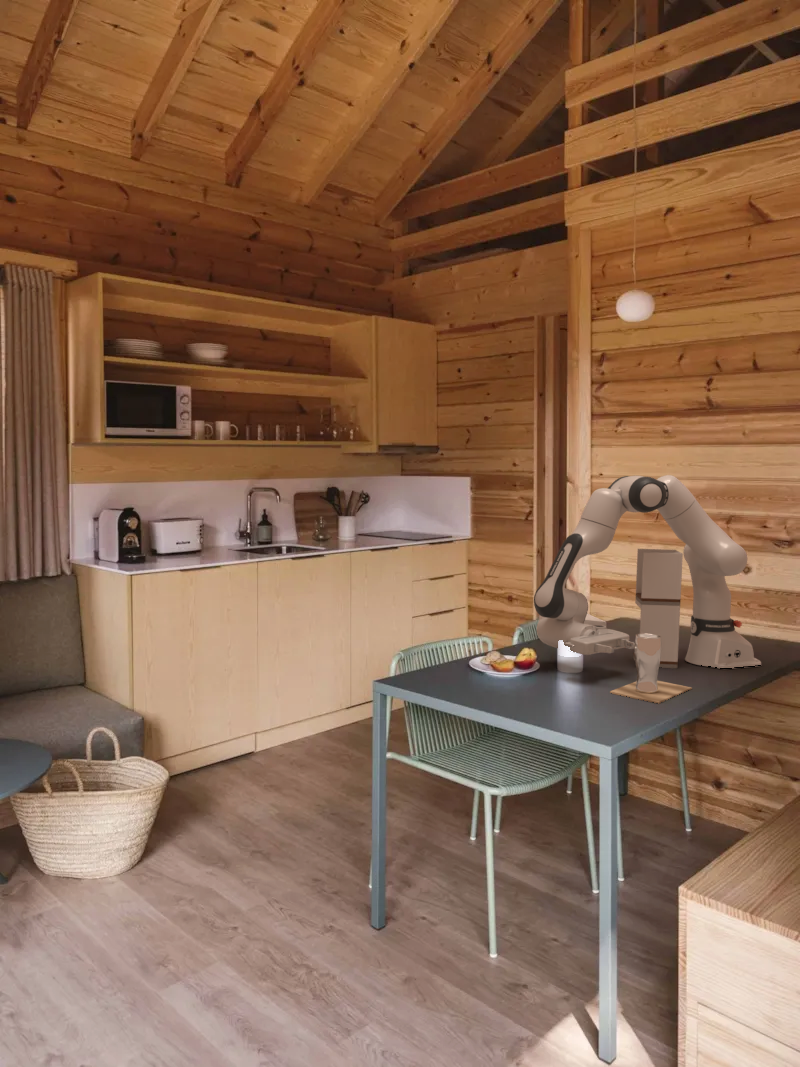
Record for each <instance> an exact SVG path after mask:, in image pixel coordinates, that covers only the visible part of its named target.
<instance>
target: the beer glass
mask: <svg viewBox="0 0 800 1067" xmlns="http://www.w3.org/2000/svg"><path fill="white" fill-rule="evenodd" d="M634 643H635V648H634V652H635V661H634V662H635V668H636V669H635V670H636V681H637V682H636V681H635V682H636V686H635V690H636V691H639V692H644V693H655V692H658V685H657V681H658V674H659V664H660V659H661V636H660V635H656V634H647V633H642V634H640V633H636V634H635V640H634Z"/></svg>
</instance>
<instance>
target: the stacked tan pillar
mask: <svg viewBox="0 0 800 1067" xmlns="http://www.w3.org/2000/svg"><path fill="white" fill-rule="evenodd" d="M636 557H637V558H636V560H637V561H636V579H635V580H636V584H635V602H634V603H635V604H636V605H637V607H638V608H640V614H639V615H640V620H639V623H640V624H639V634H642V633H647V634H656V635H660V636H661V659H660V664H659V667H662V668H661V669H678V662H679V661H678V659H679V643H680V641H679V639H680V619H681V618H680V617H681V600H682V599H681V598H682V576H683V575H682V574H683V558H684V554H683V552H680V551H678V550H677V549H665V548H664V549H662V548H660V549H659V548H656V549H655V548H637V556H636ZM632 654H633V655H632V660H633V661H634V662H635V651H634V652H633V653H632Z"/></svg>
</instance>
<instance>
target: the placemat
mask: <svg viewBox="0 0 800 1067" xmlns="http://www.w3.org/2000/svg"><path fill="white" fill-rule="evenodd" d="M636 682H637V680H636V681H633V682H631V683H628V684H626V685H622V686H620V687H618V688H615V689H613V690H610V691H609V694H611V693H612V694H611V695H616V696H620V695H621V696H622V697H625V698H629V697H630V699H634V700H638V699H639V701H643V700H644V701H645V702H647V701H648V703H652V702H654V703H653V704H656V703H658V704H657V705H660V704H662V703H664V702H666V701H669V700H671V699H673V698H675V697H678V696H680V695H682V694H684V692H685V693H687V692H689V691H691V690H693V687H691V686H686V685H681V684H678V683H677V684H676V683H671V682H666V681H662V680H657V685H658V692H655V693H644V692H639V691H636V690H635V686H636ZM688 690H689V691H688ZM686 691H687V692H686ZM681 693H682V694H681ZM679 694H680V695H679ZM677 695H678V696H677ZM626 696H627V697H626ZM674 696H675V697H674ZM672 697H673V698H672ZM670 698H671V699H670ZM668 699H669V700H668ZM665 700H666V701H665ZM644 701H643V702H644ZM661 702H662V703H661Z"/></svg>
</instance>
